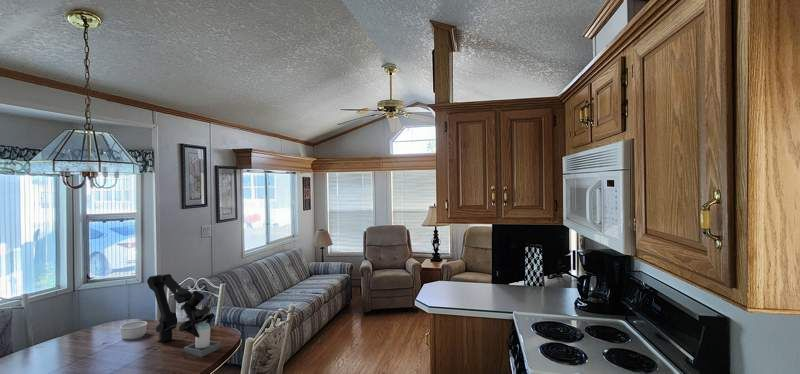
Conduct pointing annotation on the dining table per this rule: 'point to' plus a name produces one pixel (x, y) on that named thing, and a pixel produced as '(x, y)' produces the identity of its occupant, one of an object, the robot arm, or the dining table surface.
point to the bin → (202, 352)
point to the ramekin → (133, 329)
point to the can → (203, 336)
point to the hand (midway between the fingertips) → (204, 334)
